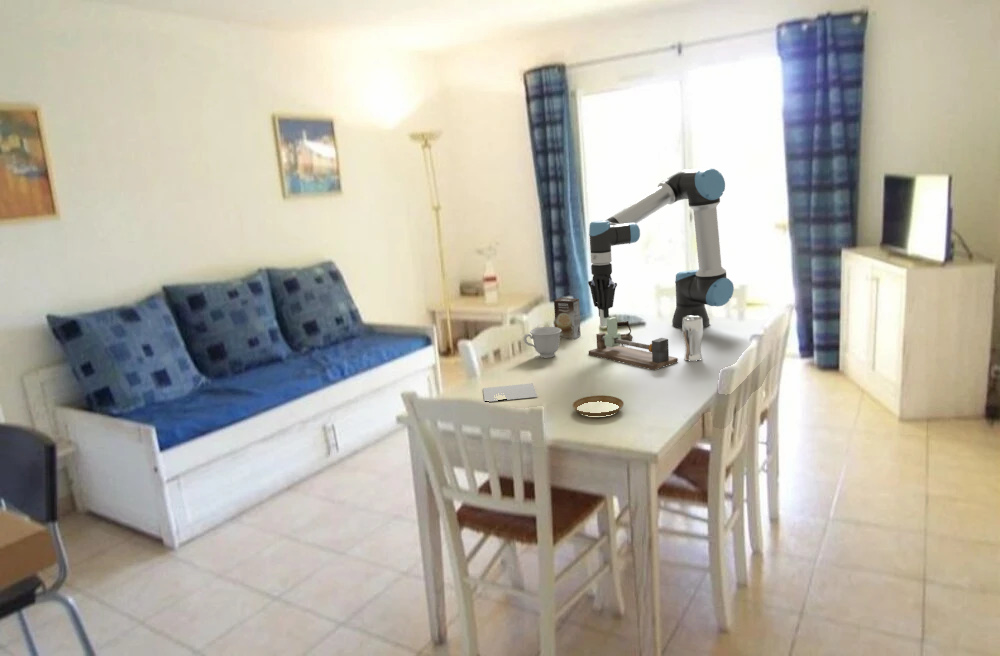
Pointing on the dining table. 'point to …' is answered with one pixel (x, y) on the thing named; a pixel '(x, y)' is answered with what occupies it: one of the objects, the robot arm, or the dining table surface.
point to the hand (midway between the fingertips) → (604, 325)
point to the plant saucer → (599, 398)
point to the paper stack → (510, 392)
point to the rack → (635, 352)
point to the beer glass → (692, 337)
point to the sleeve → (611, 333)
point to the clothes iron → (625, 336)
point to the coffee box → (567, 317)
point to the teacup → (545, 340)
